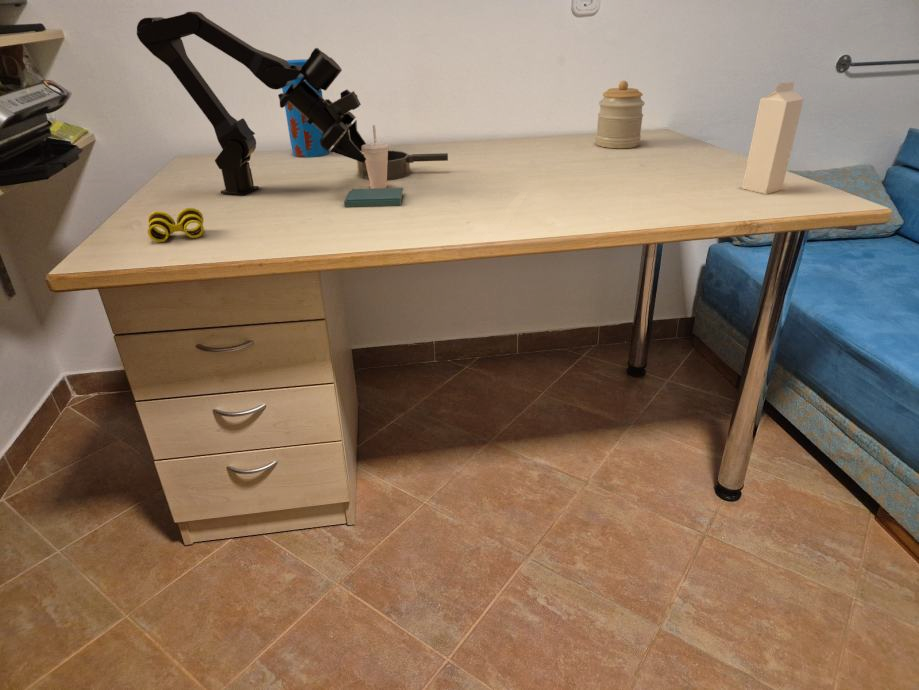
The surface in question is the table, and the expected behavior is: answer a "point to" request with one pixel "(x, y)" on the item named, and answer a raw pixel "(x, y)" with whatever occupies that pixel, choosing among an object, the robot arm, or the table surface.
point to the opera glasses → (169, 224)
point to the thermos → (302, 125)
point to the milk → (772, 139)
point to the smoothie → (376, 162)
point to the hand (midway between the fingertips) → (367, 156)
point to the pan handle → (428, 157)
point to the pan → (390, 166)
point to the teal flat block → (374, 197)
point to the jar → (620, 117)
